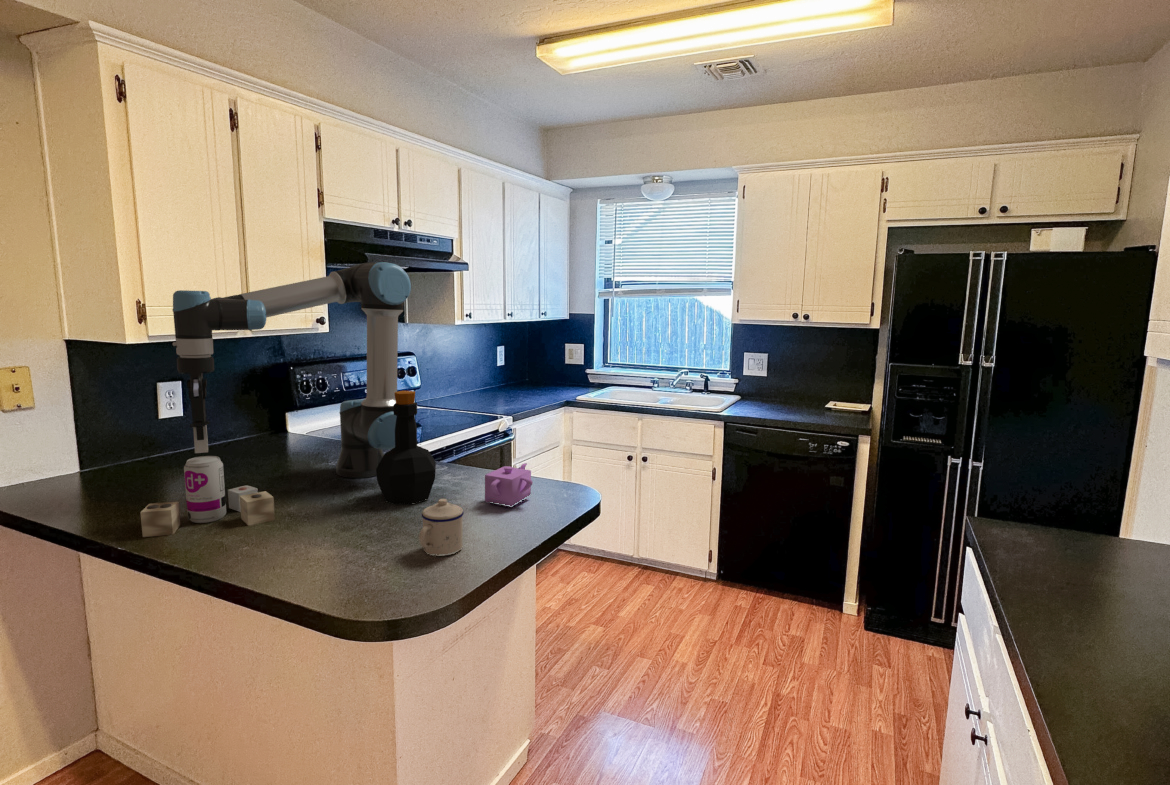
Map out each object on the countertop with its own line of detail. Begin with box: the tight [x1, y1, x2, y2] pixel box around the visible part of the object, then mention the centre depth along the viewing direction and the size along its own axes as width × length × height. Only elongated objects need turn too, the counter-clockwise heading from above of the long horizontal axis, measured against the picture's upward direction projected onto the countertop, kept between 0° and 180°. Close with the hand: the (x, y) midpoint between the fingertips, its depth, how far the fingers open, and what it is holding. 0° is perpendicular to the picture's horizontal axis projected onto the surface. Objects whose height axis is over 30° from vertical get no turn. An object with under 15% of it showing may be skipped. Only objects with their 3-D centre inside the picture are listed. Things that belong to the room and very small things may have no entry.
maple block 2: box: [240, 490, 276, 526], centre depth 155 cm, size 6×6×6 cm
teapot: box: [484, 463, 533, 506], centre depth 172 cm, size 18×14×10 cm
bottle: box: [376, 390, 437, 505], centre depth 172 cm, size 16×16×30 cm
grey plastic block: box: [227, 484, 259, 513], centre depth 163 cm, size 5×5×5 cm
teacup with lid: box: [418, 498, 465, 555], centre depth 138 cm, size 12×9×12 cm
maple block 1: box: [140, 501, 181, 538], centre depth 146 cm, size 6×6×6 cm
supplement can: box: [183, 455, 227, 524], centre depth 154 cm, size 8×8×15 cm
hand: (201, 451), depth 153 cm, fingers closed
